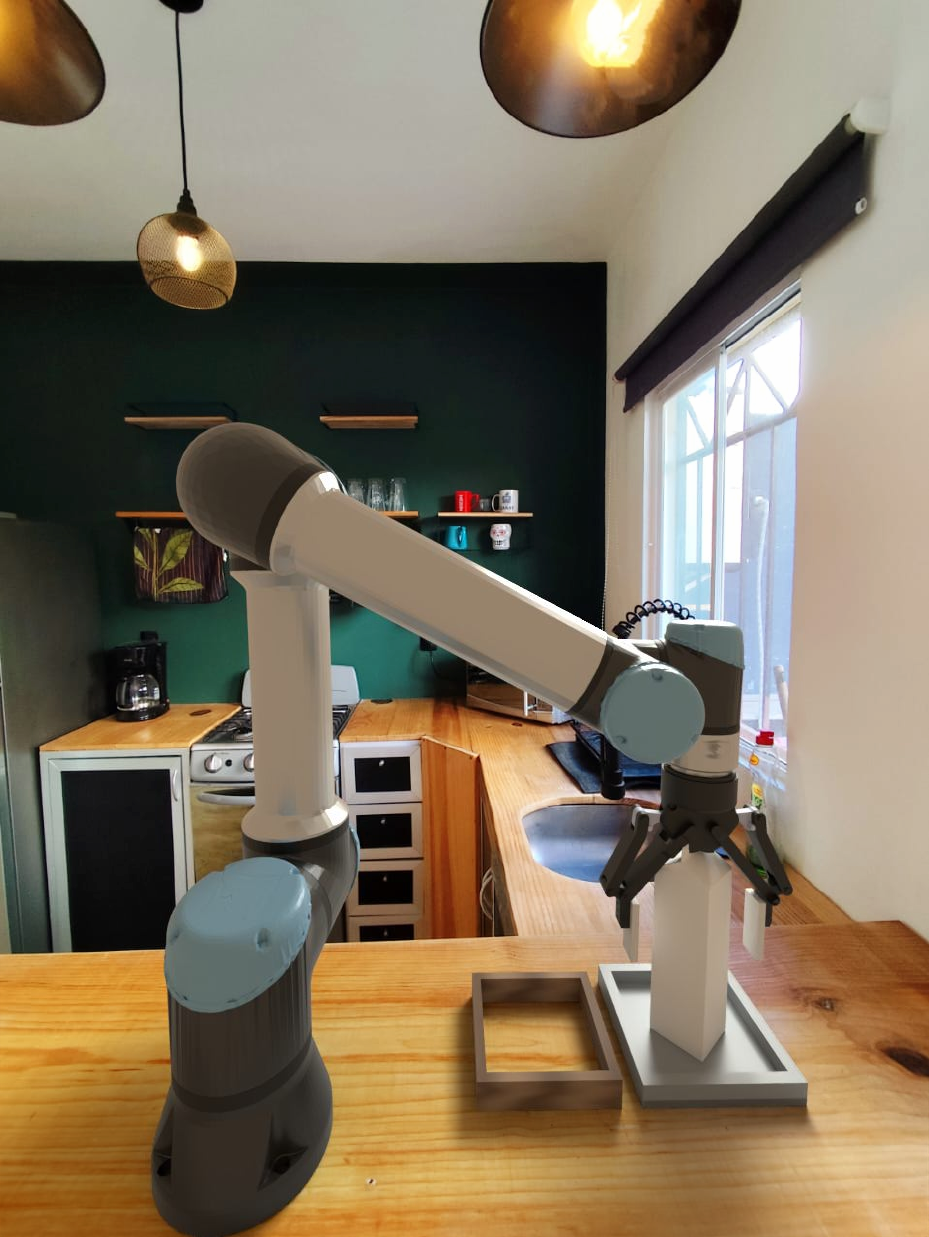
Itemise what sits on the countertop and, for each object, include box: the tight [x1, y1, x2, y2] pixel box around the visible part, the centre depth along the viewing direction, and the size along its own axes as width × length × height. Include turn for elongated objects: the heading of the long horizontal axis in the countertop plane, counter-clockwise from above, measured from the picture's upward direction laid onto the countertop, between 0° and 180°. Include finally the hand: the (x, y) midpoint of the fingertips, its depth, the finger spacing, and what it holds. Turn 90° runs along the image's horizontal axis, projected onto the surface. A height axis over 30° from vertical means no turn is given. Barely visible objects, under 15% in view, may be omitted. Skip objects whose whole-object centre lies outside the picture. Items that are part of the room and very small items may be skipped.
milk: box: [650, 844, 733, 1062], centre depth 58 cm, size 6×6×22 cm
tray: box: [597, 962, 809, 1109], centre depth 59 cm, size 16×16×2 cm
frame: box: [471, 971, 624, 1112], centre depth 58 cm, size 14×14×3 cm
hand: (691, 952), depth 59 cm, fingers open, 13 cm apart
